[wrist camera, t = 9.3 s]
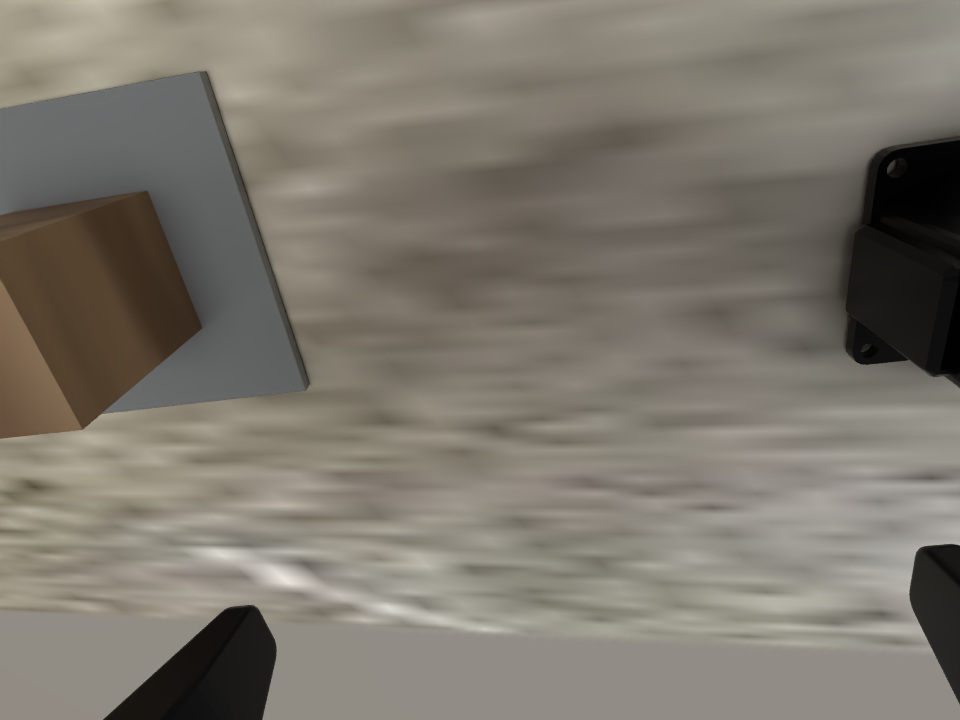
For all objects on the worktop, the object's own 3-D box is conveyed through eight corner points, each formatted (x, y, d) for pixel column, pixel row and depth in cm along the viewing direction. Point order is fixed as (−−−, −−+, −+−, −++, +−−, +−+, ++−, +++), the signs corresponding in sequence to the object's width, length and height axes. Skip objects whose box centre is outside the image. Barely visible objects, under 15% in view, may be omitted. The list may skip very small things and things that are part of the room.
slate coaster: (205, 71, 16) (199, 71, 16) (309, 384, 21) (305, 390, 20) (-108, 130, 17) (-120, 131, 17) (53, 414, 22) (46, 420, 21)
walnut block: (147, 190, 17) (-18, 247, 12) (202, 328, 19) (82, 429, 14) (12, 211, 18) (-203, 275, 13) (79, 344, 20) (-82, 447, 15)
